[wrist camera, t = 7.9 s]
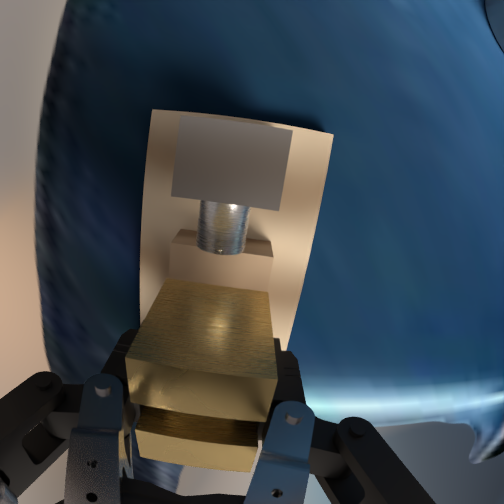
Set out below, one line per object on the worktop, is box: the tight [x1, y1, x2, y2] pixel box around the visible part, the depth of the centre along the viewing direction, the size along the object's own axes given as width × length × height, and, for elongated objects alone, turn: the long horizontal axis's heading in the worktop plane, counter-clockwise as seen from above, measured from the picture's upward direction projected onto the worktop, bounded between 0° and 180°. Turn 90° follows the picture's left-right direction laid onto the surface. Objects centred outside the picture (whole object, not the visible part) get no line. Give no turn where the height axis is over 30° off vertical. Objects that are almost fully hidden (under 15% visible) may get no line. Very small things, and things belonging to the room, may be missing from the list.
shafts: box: [196, 200, 251, 255], centre depth 14 cm, size 17×2×4 cm, turn 171°
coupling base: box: [140, 110, 333, 351], centre depth 16 cm, size 18×10×8 cm, turn 171°
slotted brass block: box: [125, 278, 278, 472], centre depth 11 cm, size 5×4×5 cm
